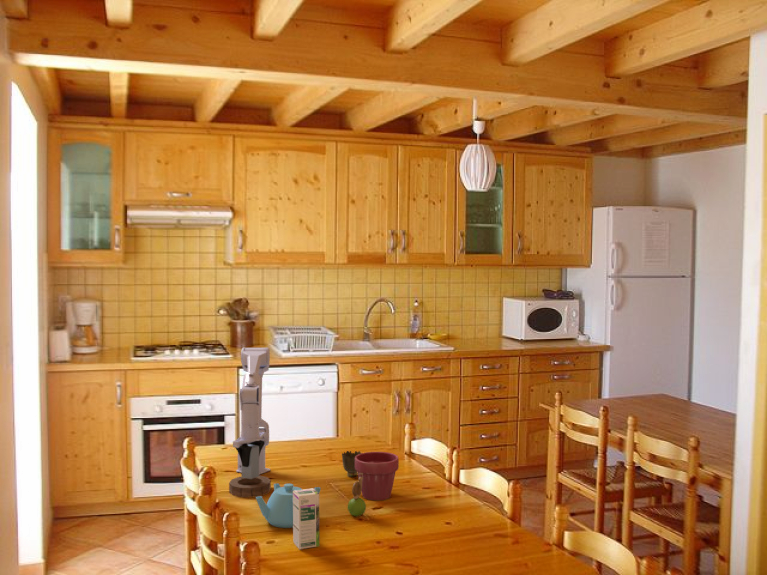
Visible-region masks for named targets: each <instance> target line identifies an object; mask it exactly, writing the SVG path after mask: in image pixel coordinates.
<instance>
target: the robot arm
mask: <svg viewBox="0 0 767 575" xmlns="http://www.w3.org/2000/svg"><path fill="white" fill-rule="evenodd" d="M270 352H271V351H270V347H268V346H267V347H245V346H244V347H242V348H241V351H240V362H241V366H242V370H243V371H245V372H246V373H245V374H244V376H243V380H242V387H241V388H240V389H239V395H238V396H239V399H238V400H239V407H240V437H238V438H237V439H235V440H233V441H232V448H234V449H235V450H236V451H237V469H236V470H235V472H236V473H240V474H242V466H244V467H248V466H249V459H250V452H251V449H252V447H250V446H248V445H249V444H251V445H257V446H259V476H261V475H262V474H264V473H265V474H266V473H267V472H270V471H271V469H270V468H268V467H266V447H267V446H268V445H269V444H270V426H269V423H268V422H267V421H266V420H264V419H263V417H262V412H263V411H262V410H263V409H262V406H263V403H262V401H263V398H262V397H263V376H264V373H266V372H268V371H270V370H269V369H270V363H271V362H270V360H271V359H270V358H271V356H270V355H271V353H270Z"/></svg>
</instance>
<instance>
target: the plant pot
mask: <svg viewBox="0 0 767 575" xmlns="http://www.w3.org/2000/svg"><path fill="white" fill-rule="evenodd" d="M399 467H400V466H399V455H397V454H394V453H391V452H385V451H368V452H367V451H366V452H361V454H358V455H357V456H356V457H355V470H356V471H358V472H357V473H358V474H357V476H358V478H359V477H362V478H363V480H362V490H361V495H362V498H364V499H366V500H369V501H383V500H388V499H390V498H391V495H392V491H393V487H394V482H395V477H396V472H397V471H398V470H399ZM359 473H363V475H361V474H359Z"/></svg>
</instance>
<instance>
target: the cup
mask: <svg viewBox="0 0 767 575" xmlns="http://www.w3.org/2000/svg"><path fill="white" fill-rule="evenodd" d="M354 451H355V452H352V451H351V450H350V451H349V450H346V452H345V451H343V452H342V453H341V456H342V460H341V461H342V465H343V469H344V471H346V472H347V473H346V475H347V477H351V478H355V477H357V476H358V471H356V470H355V457H356V456H357V455H358V454H361V453H362V452H361V451H359V450H358V451H357V450H354Z"/></svg>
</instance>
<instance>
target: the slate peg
mask: <svg viewBox="0 0 767 575" xmlns="http://www.w3.org/2000/svg"><path fill="white" fill-rule="evenodd" d="M248 446H250V447H252V449H251V452H250V459H249V466H248V467H244V466H242V473H241V477H243V478H248V479H253V478H255V477H258V476H260V475H259V446H257V445H251V444H249V445H248Z"/></svg>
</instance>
